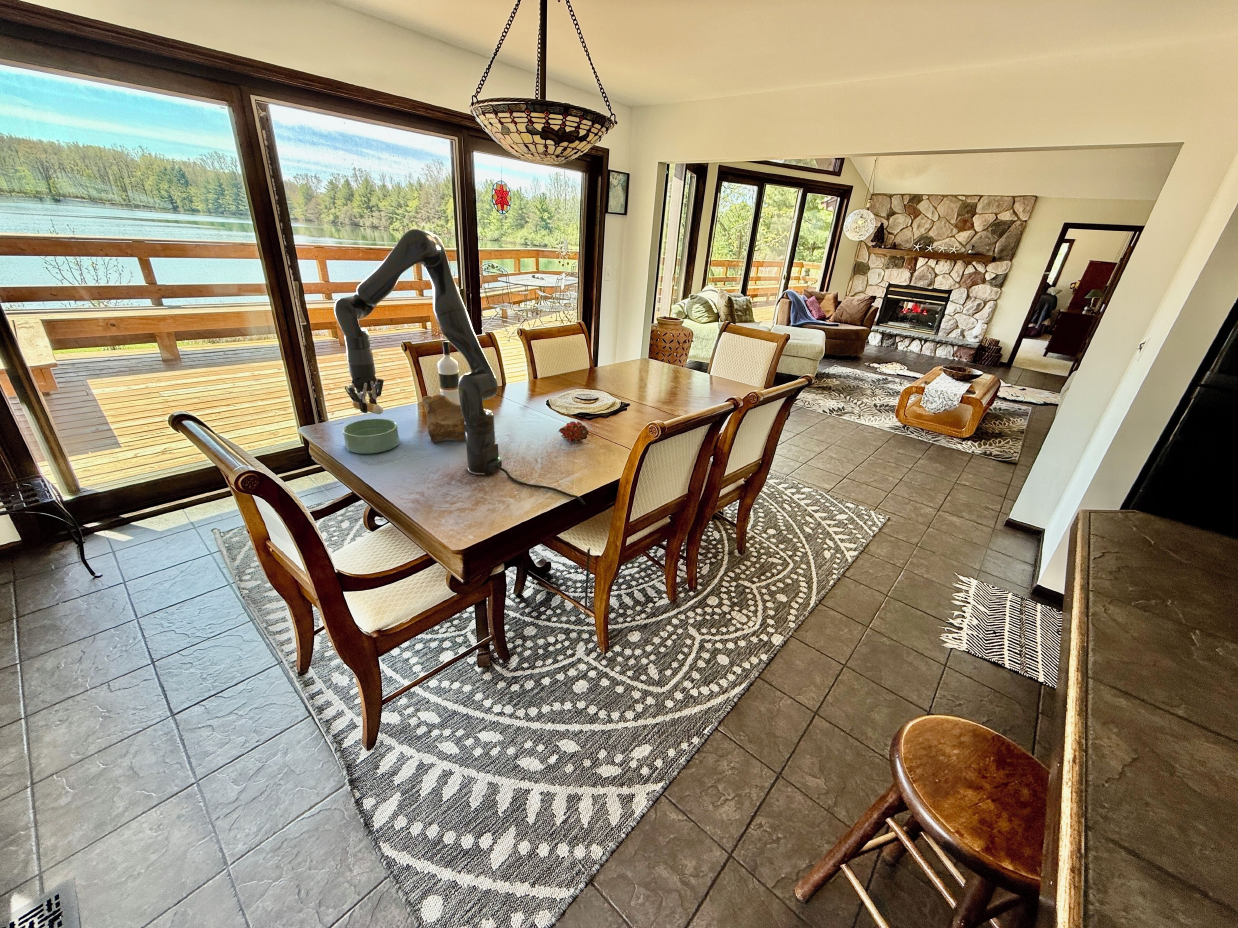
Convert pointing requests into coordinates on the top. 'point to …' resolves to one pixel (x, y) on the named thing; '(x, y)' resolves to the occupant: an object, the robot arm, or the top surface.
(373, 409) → the drumstick
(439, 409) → the rough brown rock
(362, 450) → the green pet bowl
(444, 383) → the vodka
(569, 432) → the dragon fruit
